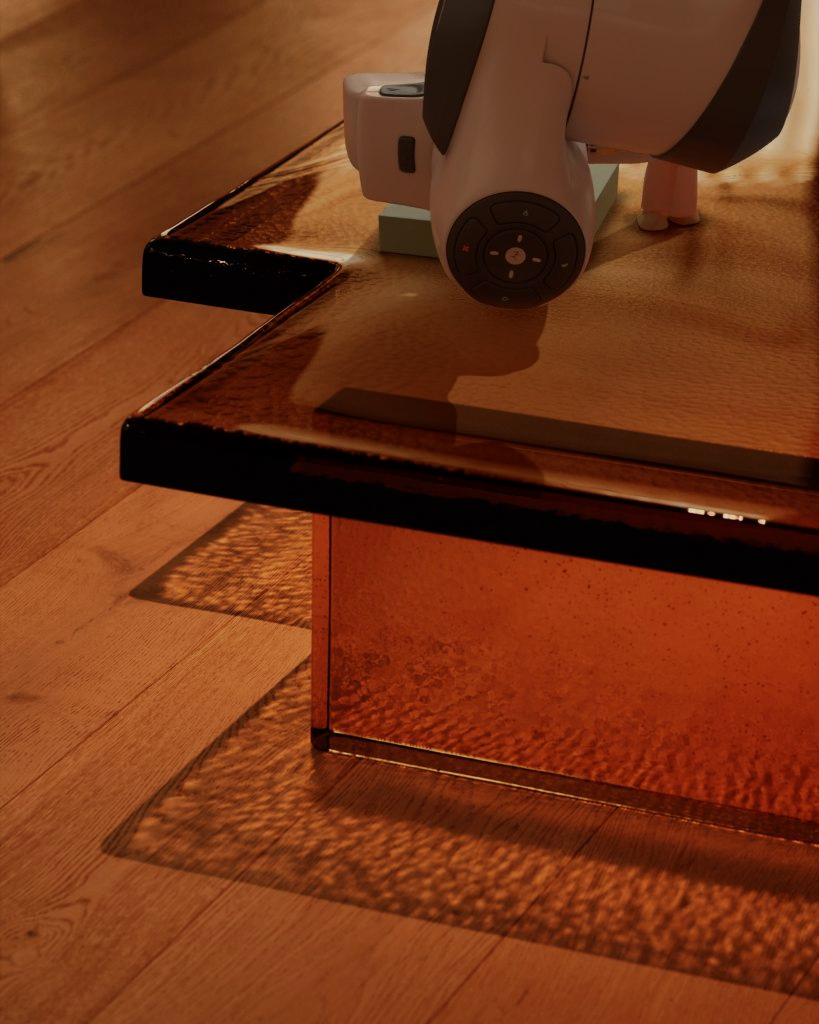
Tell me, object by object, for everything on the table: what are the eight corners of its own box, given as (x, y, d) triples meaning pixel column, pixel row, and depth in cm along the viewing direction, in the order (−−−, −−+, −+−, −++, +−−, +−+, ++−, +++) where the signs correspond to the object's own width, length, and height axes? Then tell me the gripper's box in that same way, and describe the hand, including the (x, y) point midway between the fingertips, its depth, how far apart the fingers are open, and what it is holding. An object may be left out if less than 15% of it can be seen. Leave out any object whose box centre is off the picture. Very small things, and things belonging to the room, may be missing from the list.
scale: (617, 196, 113) (620, 151, 111) (573, 273, 102) (575, 224, 100) (440, 178, 116) (440, 134, 115) (378, 251, 105) (377, 203, 103)
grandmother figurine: (648, 241, 106) (662, 48, 99) (611, 223, 109) (622, 34, 102) (734, 216, 109) (753, 28, 103) (696, 199, 112) (712, 16, 106)
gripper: (693, 93, 91) (666, 26, 103) (332, 94, 91) (347, 27, 103) (684, 199, 94) (659, 122, 106) (336, 199, 95) (350, 123, 107)
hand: (503, 76), depth 105 cm, fingers closed on can, 6 cm apart
